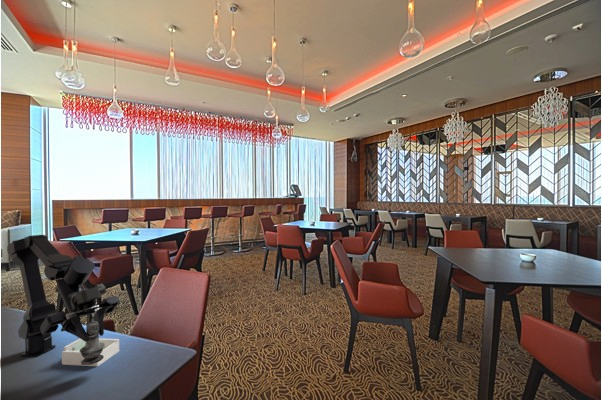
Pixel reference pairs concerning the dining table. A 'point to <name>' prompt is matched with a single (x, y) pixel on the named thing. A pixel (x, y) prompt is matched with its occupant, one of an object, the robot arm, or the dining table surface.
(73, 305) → the robot arm
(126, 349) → the dining table surface
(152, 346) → the dining table surface
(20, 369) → the dining table surface
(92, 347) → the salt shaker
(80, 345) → the bar
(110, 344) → the box
